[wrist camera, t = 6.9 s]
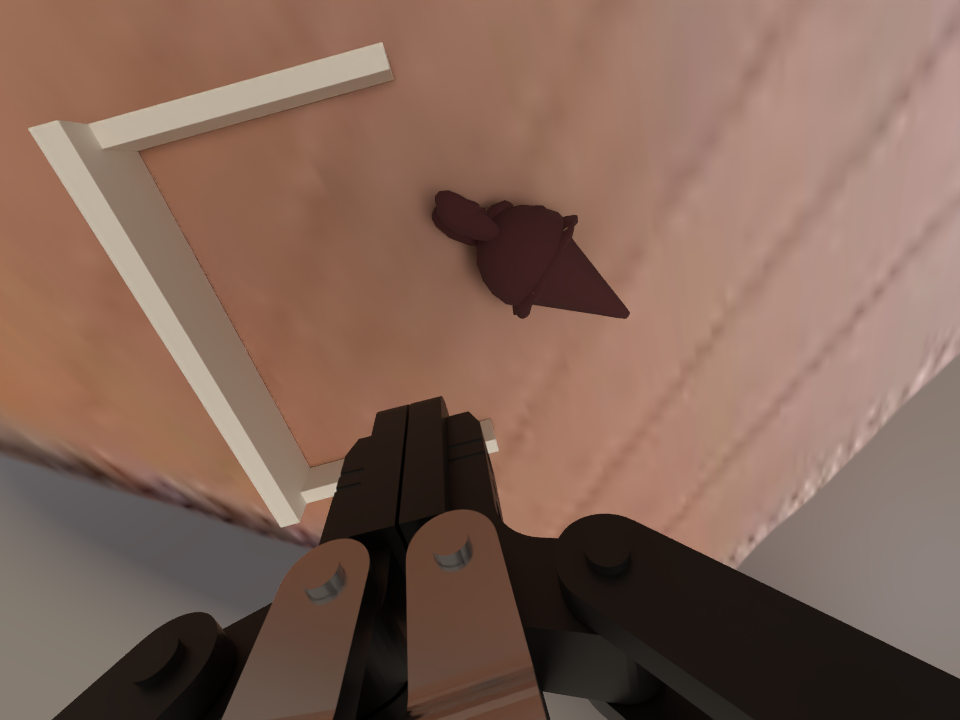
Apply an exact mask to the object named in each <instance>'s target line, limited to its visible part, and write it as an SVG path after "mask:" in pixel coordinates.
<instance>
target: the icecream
mask: <svg viewBox="0 0 960 720" xmlns="http://www.w3.org/2000/svg"><path fill="white" fill-rule="evenodd" d="M435 202H436V207H435V208H434V210H433V213H432V220H433V221H434V223H435V225H436V227H437V228H439V229H440V230H441V231H442V232H443V233H445V234H446V235H447V236H448V237H449V238H452V239H454V240H457V241H459V242H462V243H465V244H467V245H473V246H477V266H478V268H479V271H480V274H481V277H482V279H483V281H484V283H485V284H486V285H487V287H488V288H489V290H490V291H491V292H492V294H493V295H495V296H496V297H497V298H499V299H500V300H501V301H503V302H504V303H505V304H508V305H513V314H514V315H517V316H518V317H519V318H522V319H524V318H526V317H527V316H528V315H529V314H530V310H531V307H532V305H539V306H545V307H552V308H558V309H565V310H571V311H578V312H584V313H591V314H597V315H603V316H609V317H615V318H623V319H626V318H627V317H628V316H629V314H630V312H629V311H628V309H627V308H626V306H625V305H624V304H623V303H622V301H621V300H620V299H619V298H618V296H617V295H616V294H615V293H614V291H613V290H612V289H611V288H610V286H609V285H608V284H607V282H606V281H605V280H604V279H603V277H602V276H601V275H600V274H599V272H598V271H597V270H596V268H595V267H594V266H593V265H592V263H591V262H590V261H589V260H588V258H587V257H586V256H585V254H584V253H583V252H582V251H581V249H580V248H579V247H578V246H577V244H576V243H575V242H574V241H573V239H572V235H573V232H574V226H575V225H576V224H577V223H578V217H577V215H571V216H565V217H562V216H561V215H560V214H559V213H558V212H555V211H552V210H549V209H546V208H545V207H544V206H537V205H536V206H529V205H519V206H515V207H513V205H512V204H511V203H510V202H508V201H505V200H504V201H502V202H499V203H497V204H495V205H492V206H491V207H490V208H489V210H488V211H487V210H486V209H485V208H480V206H479V204H478V203H476V202H474V201H471V200H468V199H466V198H464V197H462V196H461V195H459V194H456V193H454V192H451V191H449V190H448V191H439V192H438V193H437V194H436V196H435Z"/></svg>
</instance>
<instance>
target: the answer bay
mask: <svg viewBox="0 0 960 720" xmlns="http://www.w3.org/2000/svg"><path fill="white" fill-rule="evenodd" d="M392 80H394V77H393V74H392V70H391V67H390V63H389V60H388V56H387V54H386V51H385V48H384V45H383V43H382V42H381V43H377V44H374V45H370V46H366V47H363V48H359V49H356V50H352V51H348V52H345V53H341V54H338V55H334V56H331V57H327V58H323V59H320V60H316V61H313V62H309V63H305V64H302V65H298V66H295V67H291V68H288V69H284V70H280V71H277V72H273V73H270V74H266V75H262V76H259V77H255V78H252V79H248V80H245V81H241V82H237V83H234V84H230V85H227V86H223V87H219V88H216V89H212V90H209V91H205V92H202V93H198V94H194V95H191V96H187V97H184V98H180V99H176V100H173V101H169V102H166V103H162V104H159V105H155V106H151V107H148V108H144V109H141V110H137V111H133V112H130V113H126V114H123V115H119V116H116V117H112V118H108V119H105V120H101V121H98V122H94V123H90V124H84V123H77V122H69V121H62V120H56V121H52V122H49V123H45V124H42V125H38V126H34V127H31V128H28V129H29V131H30V133H31V134H32V136H33V137H34V139H35V141H36V142H37V144H38V145H39V147H40V148H41V150H42V152H43V153H44V155H45V156H46V158H47V159H48V161H49V163H50V164H51V166H52V167H53V169H54V171H55V172H56V174H57V175H58V177H59V178H60V180H61V182H62V183H63V185H64V186H65V188H66V189H67V191H68V193H69V194H70V196H71V197H72V199H73V200H74V202H75V204H76V205H77V207H78V208H79V210H80V212H81V213H82V215H83V216H84V218H85V219H86V221H87V223H88V224H89V226H90V227H91V229H92V230H93V232H94V234H95V235H96V237H97V238H98V240H99V242H100V243H101V245H102V246H103V248H104V249H105V251H106V253H107V254H108V256H109V257H110V259H111V260H112V262H113V264H114V265H115V267H116V268H117V270H118V271H119V273H120V275H121V276H122V278H123V279H124V281H125V283H126V284H127V286H128V287H129V289H130V290H131V292H132V294H133V295H134V297H135V298H136V300H137V301H138V303H139V305H140V306H141V308H142V309H143V311H144V312H145V314H146V316H147V317H148V319H149V320H150V322H151V324H152V325H153V327H154V328H155V330H156V331H157V333H158V335H159V336H160V338H161V339H162V341H163V342H164V344H165V346H166V347H167V349H168V350H169V352H170V354H171V355H172V357H173V358H174V360H175V361H176V363H177V365H178V366H179V368H180V369H181V371H182V372H183V374H184V376H185V377H186V379H187V380H188V382H189V383H190V385H191V387H192V388H193V390H194V391H195V393H196V395H197V396H198V398H199V399H200V401H201V402H202V404H203V406H204V407H205V409H206V410H207V412H208V413H209V415H210V417H211V418H212V420H213V421H214V423H215V425H216V426H217V428H218V429H219V431H220V432H221V434H222V436H223V437H224V439H225V440H226V442H227V443H228V445H229V447H230V448H231V450H232V451H233V453H234V454H235V456H236V458H237V459H238V461H239V462H240V464H241V466H242V467H243V469H244V470H245V472H246V473H247V475H248V477H249V478H250V480H251V481H252V483H253V484H254V486H255V488H256V489H257V491H258V492H259V494H260V496H261V497H262V499H263V500H264V502H265V503H266V505H267V507H268V508H269V510H270V511H271V513H272V514H273V516H274V518H275V519H276V521H277V522H278V524H279V525H280V527H285V526H288V525H292V524H296V523H299V522H300V521H301V518H302V515H303V512H304V510H305V507H306V504H307V503H310V502H314V501H317V500H321V499H325V498H328V497H332V496H334V493H335V492H336V486H337V483H338V479H339V477H341V474H340V473H341V469H342V466H343V463H344V459H341V460H337V461H334V462H330V463H326V464H323V465H319V466H315V467H312V468H310V466H309V465H308V463H307V461H306V459H305V457H304V455H303V454H302V452H301V450H300V448H299V446H298V444H297V443H296V441H295V439H294V437H293V435H292V433H291V432H290V430H289V428H288V426H287V424H286V422H285V421H284V419H283V417H282V415H281V413H280V411H279V409H278V408H277V406H276V404H275V402H274V400H273V398H272V397H271V395H270V393H269V391H268V389H267V387H266V386H265V384H264V382H263V380H262V378H261V376H260V375H259V373H258V371H257V369H256V367H255V365H254V364H253V362H252V360H251V358H250V356H249V354H248V353H247V351H246V349H245V347H244V345H243V343H242V341H241V340H240V338H239V336H238V334H237V332H236V330H235V329H234V327H233V325H232V323H231V321H230V319H229V318H228V316H227V314H226V312H225V310H224V308H223V307H222V305H221V303H220V301H219V299H218V297H217V296H216V294H215V292H214V290H213V288H212V286H211V284H210V283H209V281H208V279H207V277H206V275H205V273H204V272H203V270H202V268H201V266H200V264H199V262H198V261H197V259H196V257H195V255H194V253H193V251H192V250H191V248H190V246H189V244H188V242H187V240H186V239H185V237H184V235H183V233H182V231H181V229H180V228H179V226H178V224H177V222H176V220H175V218H174V216H173V215H172V213H171V211H170V209H169V207H168V205H167V204H166V202H165V200H164V198H163V196H162V194H161V193H160V191H159V189H158V187H157V185H156V183H155V182H154V180H153V178H152V176H151V174H150V172H149V171H148V169H147V167H146V165H145V163H144V161H143V159H142V158H141V156H140V154H139V152H138V151H140V150H144V149H148V148H151V147H155V146H158V145H162V144H166V143H169V142H173V141H176V140H180V139H183V138H187V137H191V136H194V135H198V134H201V133H205V132H209V131H212V130H216V129H219V128H223V127H227V126H230V125H234V124H237V123H241V122H245V121H248V120H252V119H255V118H259V117H262V116H266V115H270V114H273V113H277V112H280V111H284V110H288V109H291V108H295V107H298V106H302V105H306V104H309V103H313V102H316V101H320V100H323V99H327V98H331V97H334V96H338V95H341V94H345V93H349V92H352V91H356V90H359V89H363V88H367V87H370V86H374V85H377V84H381V83H385V82H388V81H392ZM480 425H481V428H482V432H483V436H484V439H485V443H486V446H487V450H488V454H489V453H493V452H496V451H499V449H498V445H497V441H496V437H495V433H494V429H493V425H492V422H491V419H487V420H483V421H480Z"/></svg>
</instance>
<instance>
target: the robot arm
mask: <svg viewBox="0 0 960 720" xmlns="http://www.w3.org/2000/svg"><path fill="white" fill-rule="evenodd" d="M340 474H341V477H339V479H338V483H337V486H336V492H335V493H334V496H333V500H332V503H331V506H330V510H329V513H328V516H327V520H326V523H325V526H324V530H323V533H322V536H321V540H320V543H319V546H318V547H316V548H314V549H312V550H311V551H309V552H308V553H307V554H305V555H304V556H303V557H302V558H300V559H299V560H298V561H297V562H296V563H295V564H294V565H293V566H292V568H291V569H290V570H289V571H288V573H287V574H286V576H285V577H284V579H283V581H282V583H281V584H280V586H279V589H278V591H277V593H276V596H275V598H274V600H273V602H272V603H270V604H269V605H267V606H265V607H263V608H261V609H260V610H258V611H256V612H254V613H252V614H250V615H248V616H246V617H245V618H243V619H241V620H239V621H237V622H235V623H233V624H231V625H230V626H228V627H226V628H224V629H222V628H221V627H220V625H219V624H218V623H217V622H216V621H215V619H214V618H213V617H212V616H211V615H209V614H207V613H203V612H194V613H189V614H185V615H182V616H179V617H177V618H175V619H173V620H171V621H169V622H167V623H166V624H164V625H162V626H161V627H159V628H158V629H156V630H155V631H153V632H152V633H151V634H149V635H148V636H147V637H146V638H144V639H143V640H142V641H141V642H140V643H139V644H137V645H136V646H135V647H134V648H133V649H132V650H131V651H130V652H128V653H127V654H126V655H125V656H124V657H123V658H121V659H120V660H119V661H118V662H117V663H116V664H115V665H114V666H112V667H111V668H110V669H109V670H108V671H107V672H106V673H104V674H103V675H102V676H101V677H100V678H99V679H98V680H97V681H95V682H94V683H93V684H92V685H91V686H90V687H88V689H86V690H85V691H84V692H83V693H82V694H81V695H79V696H78V697H77V698H76V699H75V700H74V701H73V702H71V703H70V704H69V705H68V706H67V707H66V708H65V709H63V710H62V711H61V712H60V713H59V714H58V715H57V716H56V717H54V718H53V719H52V720H550V716H549V713H548V709H547V705H546V702H545V698H544V694H543V691H544V692H550V693H556V694H562V695H569V696H574V697H580V698H587V699H589V701H590V702H591V703H592V705H593V706H594V707H595V708H596V709H597V710H598V711H599V712H600V713H601V714H602V715H603V716H605V717H606V718H607V719H608V720H960V679H959V678H957V677H955V676H953V675H951V674H949V673H947V672H945V671H943V670H940V669H938V668H936V667H934V666H932V665H930V664H928V663H926V662H924V661H922V660H920V659H918V658H916V657H914V656H912V655H910V654H908V653H905V652H903V651H901V650H899V649H897V648H895V647H893V646H891V645H889V644H887V643H885V642H883V641H881V640H879V639H877V638H874V637H873V636H870V635H868V634H866V633H864V632H862V631H860V630H858V629H856V628H854V627H852V626H850V625H848V624H846V623H844V622H842V621H840V620H837V619H835V618H834V617H831V616H829V615H827V614H825V613H823V612H821V611H819V610H817V609H815V608H813V607H811V606H809V605H807V604H805V603H803V602H800V601H799V600H796V599H794V598H792V597H790V596H788V595H786V594H784V593H782V592H780V591H778V590H775V589H774V588H772V587H770V586H768V585H766V584H764V583H761V582H759V581H757V580H755V579H753V578H751V577H749V576H747V575H745V574H743V573H741V572H739V571H737V570H735V569H733V568H731V567H729V566H727V565H724V564H722V563H720V562H718V561H716V560H714V559H712V558H710V557H708V556H706V555H704V554H702V553H700V552H698V551H696V550H694V549H692V548H689V547H687V546H685V545H683V544H681V543H679V542H677V541H675V540H673V539H671V538H669V537H667V536H665V535H663V534H661V533H659V532H657V531H654V530H652V529H650V528H648V527H646V526H644V525H642V524H640V523H638V522H636V521H634V520H631V519H629V518H627V517H623V516H619V515H614V514H595V515H590V516H586V517H583V518H581V519H579V520H577V521H575V522H573V523H572V524H570V525H569V526H568V527H567V528H566V529H565V530H564V531H563V532H562V534H561V535H560V537H559V538H539V537H531V536H527V535H523V534H520V533H518V532H516V531H514V530H512V529H511V528H509V527H508V526H507V525H506V524H504V522H503V517H502V512H501V507H500V502H499V497H498V492H497V486H496V481H495V476H494V472H493V468H492V465H491V461H490V457H489V454H488V450H487V446H486V443H485V439H484V436H483V432H482V428H481V425H480V422H479V421H478V420H477V419H476V418H475V417H474V416H473V415H472V414H471V413H469V412H465V413H461V414H457V415H453V416H449V414H448V410H447V407H446V404H445V401H444V399H443V397H442V396H440V397H436V398H432V399H428V400H424V401H420V402H416V403H412V404H410V405H409V404H408V405H404V406H400V407H396V408H392V409H388V410H384V411H380V412H377V414H376V418H375V422H374V426H373V431H372V435H371V436H369V437H365V438H361V439H359V440H358V441H357V442H356V443H355V445H354V446H353V447H352V448H351V450H350V451H349V452H348V454H347V455H346V456H345V459H344V463H343V466H342V469H341V473H340Z"/></svg>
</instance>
